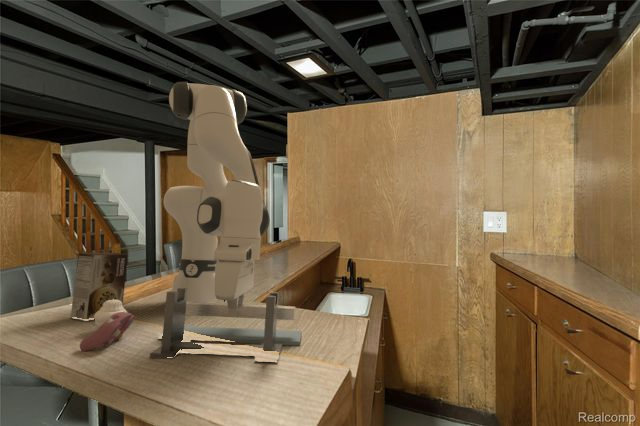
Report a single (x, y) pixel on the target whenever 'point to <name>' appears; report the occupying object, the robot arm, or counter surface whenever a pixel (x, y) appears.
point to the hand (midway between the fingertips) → (235, 314)
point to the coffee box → (98, 282)
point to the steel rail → (243, 310)
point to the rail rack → (173, 344)
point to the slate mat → (247, 335)
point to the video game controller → (108, 331)
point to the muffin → (108, 311)
